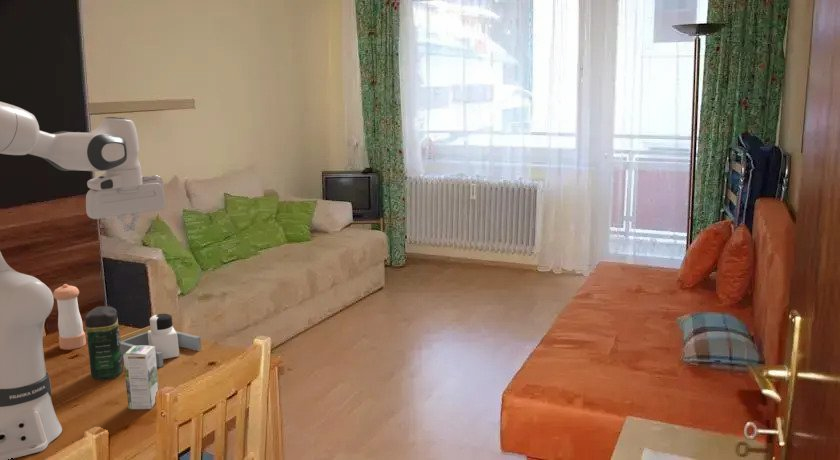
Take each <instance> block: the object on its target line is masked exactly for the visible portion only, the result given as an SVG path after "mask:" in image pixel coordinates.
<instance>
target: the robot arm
mask: <svg viewBox="0 0 840 460" xmlns="http://www.w3.org/2000/svg"><path fill="white" fill-rule="evenodd" d="M137 131H138V130H137V128H136V125H135V122H134V121H133V120H132V119H129V118H127V117H117V116H108V117H104V118H102V121H101V123H100V124H99V125H98V126H96V127H95V129H93V130H90V131H89V132H81V131H76V132H74V131H68V130H67V131H66V130H62V131H57V132H53V133H50V132H47V131H43V130H40V125H39V121H38V120H37V118H36V116H35V114H33V113H31V112H30V111H28V110H26V109H24V108H21V107H19V106H16V105H14V104H10V103H7V102H3V101H0V154H1V155H9V156H10V155H11V156H25V155H30V156H34V157H37V158H41V159H44V160H45V161H46V162H48V163H49V164H50V165H52V166H53V167H54V168H56V169H58V170H60V171H64V172H68V171H69V172H70V171H71V172H73V171H84V172H86V171H87V172H104V171H105V172H104V173H102V174H100V175H97V176H96V177H94V178H91V179H89V180H87V182H86V185H87V188H89V190H88V191H87V193H86V195H85V210H86V211H85V212H86V215H87V217H88V218H90V219H93V220H98V219H99V220H100V219H105V218H113V217H117V218H116V219H117V220H118V222H120V224H121V225H122V230H123V232H130V231H137V223H138V221H139V218H140V213H146V212H147V213H148V212H153V211H159V210H164V209H166V206H167V201H166V196H165V191H164V187H165V185H164V180H163V179H162V178H161V176H158V175H148V176H143V173H142V164H141V163H140V160H139V159H140V158H139V156H140V155H139V154H140V143H139V136H138V132H137ZM126 215H130V216H131V217H132V218H131V221H130V222H129V223H127V222H126V221H125V220H126ZM54 300H55V298H54V296H53V292H52V290H51V289H50V288H49V287H48V286H47V285H46V284H45V283H44V282H42V281H41V280H40V279H39V278H37V277H35V276H33V275H29V274H26V273H23V272H22V273H21V272H19V271H16V270H15V269H14V268H13V267H11V266H10V265H9V264H8V263H7V262H6V260H5V258H4V256H3V254H2V252H1V251H0V460H8V459H9V460H12V459H11V458H13V459H16V458H17V459H18V458H20V457H23V456H28V455H32V454H36V453H40V452H42V451H44V450H46V448H47V447H48V446H49V444H51V442H53V441H54V440H55V439H57V438H58V437H59V436H60V435H61V433H62V431H63V426H62V425H61V423H60V421H59V419H58V416H57V415H56V411H55V408H54V405H53V402H52V387H51V386H52V385H51V384H52V383H51V378H50V376H49V372H47V370H46V362H45V354H44V346H43V335H44V330H45V329H44V328H45V324H46V323H45V322H46V319H47V318H48V317H49V316H50V314H51V312H52V311H53V307H54V304H55V303H54V302H55V301H54Z"/></svg>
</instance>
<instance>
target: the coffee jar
mask: <svg viewBox="0 0 840 460" xmlns="http://www.w3.org/2000/svg"><path fill="white" fill-rule="evenodd" d="M84 324H85V332H86V333H85V334H86V338H87V339H86V342H87V347H88V358H89V367H90V376H91V378H92V379H93V380H101V381H106V380H110V379H113V378H116V377H117V378H118V377H119V376H120V375H121V374H122V372H123V370H124V361H123V357H122V354H121V345H120V337H121V336H120V328H119V327H120V326H119V318H118V311H117V309H116V308H114V307H113V306H111V305H104V306H95V307H94V308H92V309H91V310H89V311H88V312H87V314H86V315H85V317H84Z"/></svg>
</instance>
